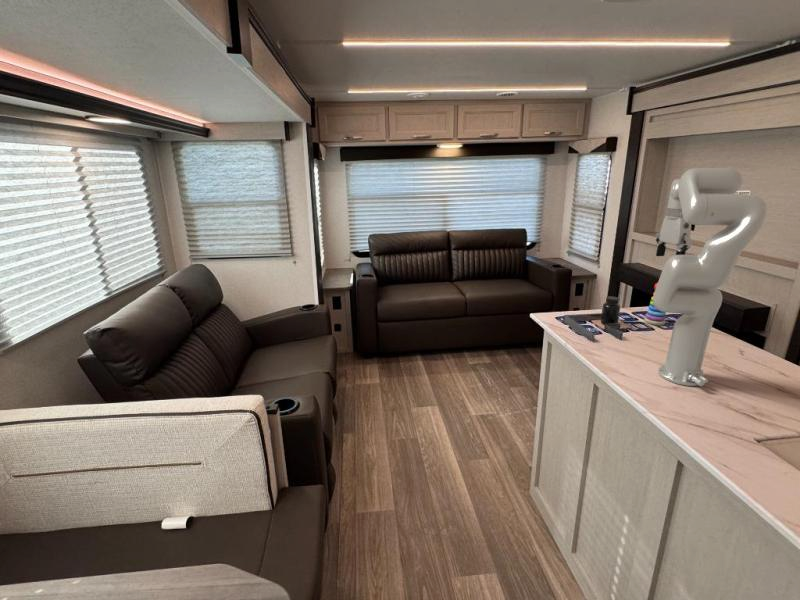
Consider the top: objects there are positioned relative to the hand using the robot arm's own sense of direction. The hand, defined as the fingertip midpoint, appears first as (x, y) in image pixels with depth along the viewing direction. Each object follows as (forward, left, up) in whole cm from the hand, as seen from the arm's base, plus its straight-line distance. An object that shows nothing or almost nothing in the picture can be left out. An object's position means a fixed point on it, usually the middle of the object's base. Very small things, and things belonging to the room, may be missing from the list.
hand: (669, 258), depth 155 cm
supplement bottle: (+14, +11, -32) cm, 36 cm away
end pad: (+14, +10, -32) cm, 36 cm away
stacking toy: (+13, -10, -32) cm, 36 cm away
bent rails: (+9, +19, -32) cm, 38 cm away
